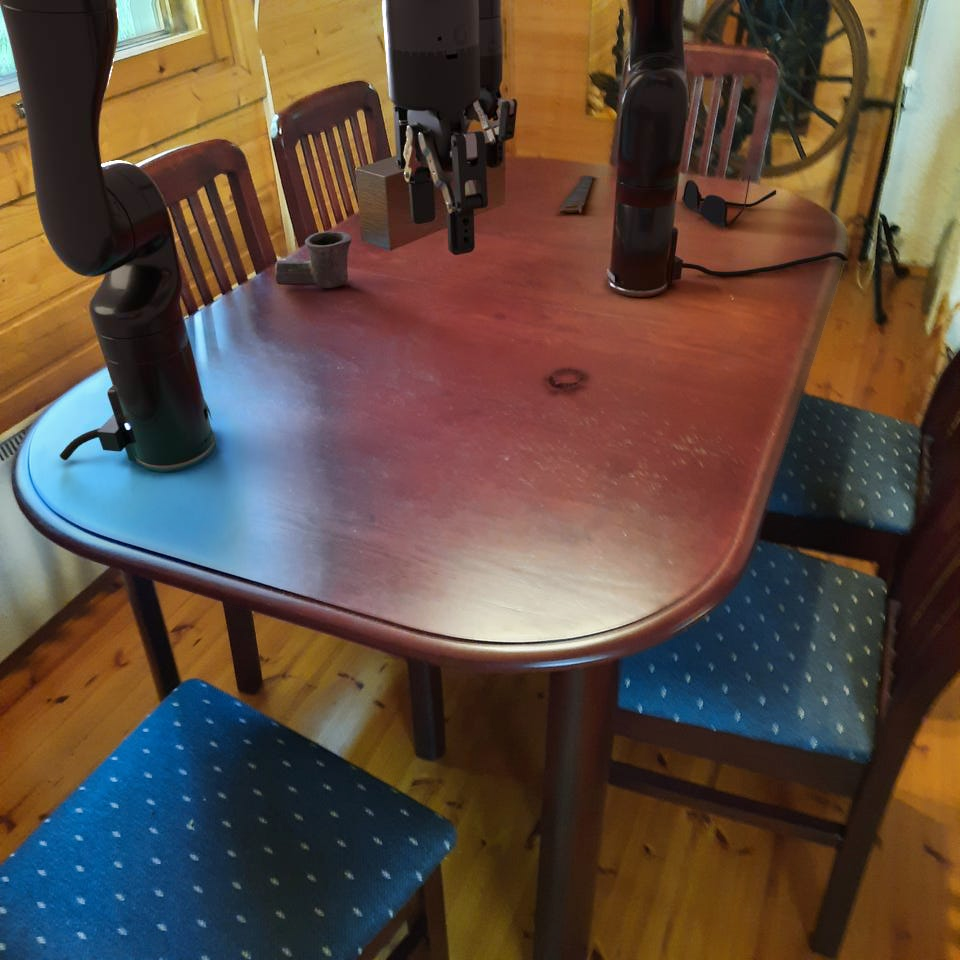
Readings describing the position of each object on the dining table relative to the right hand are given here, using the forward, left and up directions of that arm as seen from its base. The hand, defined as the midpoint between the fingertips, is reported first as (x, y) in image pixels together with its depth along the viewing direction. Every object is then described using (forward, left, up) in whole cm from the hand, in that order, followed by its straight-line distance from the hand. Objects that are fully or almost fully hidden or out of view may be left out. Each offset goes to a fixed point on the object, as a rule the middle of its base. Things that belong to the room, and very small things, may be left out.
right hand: (478, 162), depth 139 cm
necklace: (+9, +43, -17) cm, 47 cm away
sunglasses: (-52, +2, -17) cm, 55 cm away
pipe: (+29, -3, -17) cm, 33 cm away
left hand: (+32, +59, +13) cm, 68 cm away
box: (+10, +4, -7) cm, 13 cm away
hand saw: (-32, -20, -17) cm, 41 cm away
